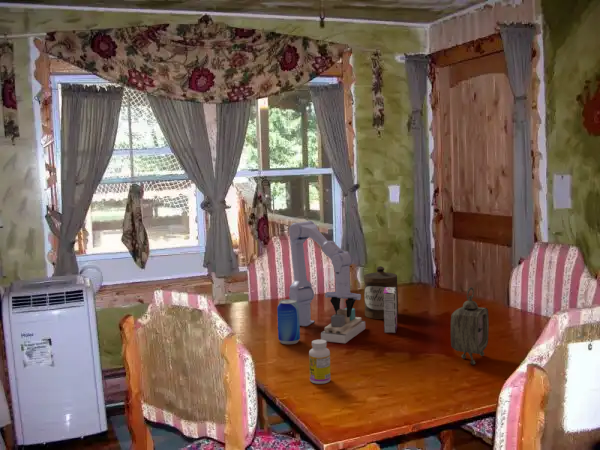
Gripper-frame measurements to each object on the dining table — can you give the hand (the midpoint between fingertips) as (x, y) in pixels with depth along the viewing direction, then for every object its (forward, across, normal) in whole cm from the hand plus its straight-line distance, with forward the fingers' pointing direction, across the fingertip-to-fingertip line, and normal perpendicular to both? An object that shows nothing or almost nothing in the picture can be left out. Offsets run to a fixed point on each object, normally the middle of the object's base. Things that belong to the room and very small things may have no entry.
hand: (343, 316), depth 249 cm
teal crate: (+2, 0, +6) cm, 6 cm away
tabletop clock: (+8, +52, -14) cm, 54 cm away
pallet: (+4, 0, 0) cm, 4 cm away
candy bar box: (+8, +15, +14) cm, 22 cm away
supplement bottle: (+8, +13, -52) cm, 54 cm away
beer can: (+8, -16, -16) cm, 24 cm away
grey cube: (+2, 0, -6) cm, 6 cm away
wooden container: (+8, +4, +34) cm, 36 cm away
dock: (+7, 0, 0) cm, 7 cm away
